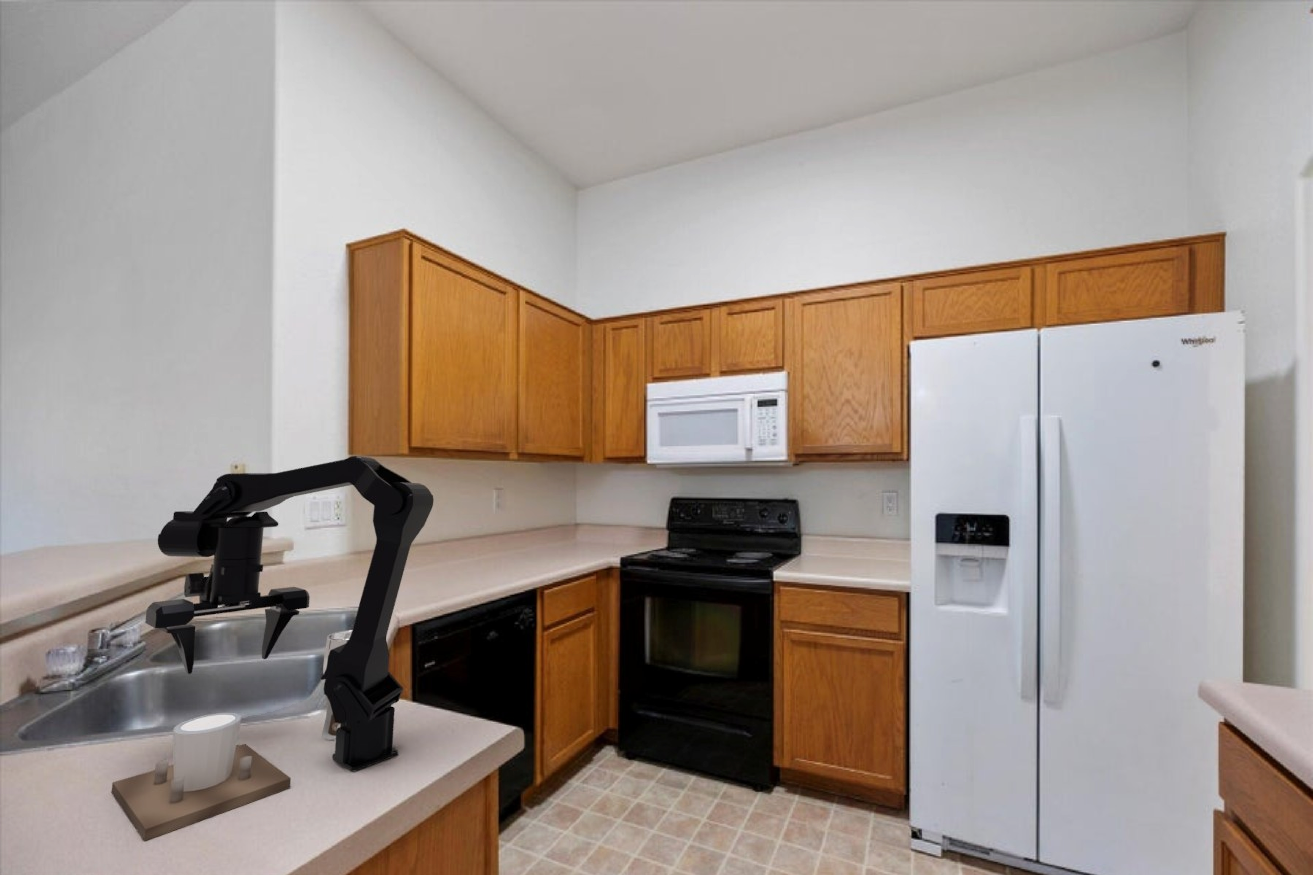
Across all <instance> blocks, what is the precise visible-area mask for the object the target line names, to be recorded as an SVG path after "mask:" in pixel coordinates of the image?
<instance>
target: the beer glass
mask: <svg viewBox="0 0 1313 875" xmlns="http://www.w3.org/2000/svg"><path fill="white" fill-rule="evenodd" d="M351 633H352V629H348V630H347V629H346V630H340V631H335V632H332V633H330V634H328V635H327V636H326V642H325V650H324V655H323V656H324V657H323V664H322V665H323V666H322V667H323V668H322V672H323V673H322V675H323V674H324V673H325V670H326V668H327V661H328V655H329V653H330V650H332V649H334V648H336V647H339V646H341V645H343V644H346V643H347V641H348V640H349V638H350V636H351ZM324 682H325V679H324V680H323V683H324ZM324 695H325V694H324ZM325 705H326V706H325V708H326V714H325V719H324V724H323V728H322V730H321V737H322V738H323V739H324V740H326V741H336V730H337V728H339V727H340V723H336V722H335V720H334V716H333V712H332V709H331V705H330V701H329V700H328V698H327V696H326V695H325Z"/></svg>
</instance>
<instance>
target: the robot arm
mask: <svg viewBox="0 0 1313 875" xmlns="http://www.w3.org/2000/svg"><path fill="white" fill-rule="evenodd" d="M348 486H349V487H350V486H353V487H354V488H355V489H356V490H357V492H358V493H359V495H361V497H362V498H364V499H365V500H366V501H368V502H369V503H370V504H371V505H373V514H372V523H373V528H374V533H375V537H376V541H375V544H374V549H373V551H372V552H373V553H372V556H371V560H370V565H369V568H368V571H367V575H366V578H365V581H364V582H365V583H364V586H363V589H362V593H361V597H360V601H359V605H358V608H357V612H356V615H355V619H354V622H353V626H352V629H351V630H352V633H351V636H350V638H349V640H348V641H347V643H346V644H343V645H341V646H339V647H336V648H334V649H332V650H330V653H329V655H328V661H327V668H326V670H325V673H324V674H323V673H322V676H321V677H320V680H322V681H323V695H326V696H327V698H328V700H329V701H330V705H331V709H332V712H333V716H334V720H335V722H336V723H340V727H339V728H337V730H336V740H335V746H334V748H335V749H334V753H333V754H332V760H334V761H336V763H337V762H338V763H339V764H341V765H342V766H344V767H346V768H347V769H349V771H351V772H352V771H353V772H354V771H358V770H361V769H364V768H366V767H368V766H371V765H373V764H376V763H379V762H382V761H384V760H388V759H390V758H392V757H395V756H398V755H399V750H398V749H396V748H395V747H394V746H393V742H394V729H395V728H394V727H395V726H394V725H395V710H396V708H395V707H394V706H393V705H394V704H396V703H398V702H399V700H400V699H401V696H402V694H403V691H404V688H403V686H402V685H401V684H400V683H399V681H397V679H396V678H395V676H393V675H392V674H391V672H389V667H390V666H389V665H390V656H391V655H390V650H389V646H388V642H387V635H388V631H389V627H390V624H391V620H392V617H393V613H394V609H395V605H396V603H397V602H396V601H397V597H398V593H399V590H400V586H401V582H402V579H403V575H404V572H405V568H406V564H407V560H408V557H409V553H410V551H411V550H410V549H411V546H412V543H413V542H414V541H415V539H416V538H417V536H418V535H419V534H420V532H421V531H422V529H423V528H424V526H425V525H426V523H427V521H428V518H429V516H430V513H431V511H432V509H433V506H434V502H435V501H434V495H433V494H432V492H431V491H430V489H429V488H428V487H427V486H426V485H424V484H422V483H419V482H418V483H417V482H412V481H410V480H409V479H408V478H405V477H404V476H402V475H400V474H398V473H397V472H395V471H393V470H391V469H389V468H388V467H386V466H385V465H383V464H382V463H380V462H379V461H377V460H376V459H375V458H372V457H369V456H359V455H352V456H349V457H347V458H345V459H339V460H334V461H330V462H323V463H320V464H314V465H310V466H304V467H299V468H295V469H289V470H285V471H278V472H276V473H275V472H273V473H272V472H271V473H269V472H267V473H266V472H264V473H262V472H260V473H259V472H254V473H251V472H249V473H248V472H245V473H244V472H243V473H242V472H241V473H240V472H239V473H224V474H222V475H220V476H219V477H218V478H216V481H215V483H214V484H213V486H212V488H211V490H210V491H209V492H208V493H207V494H206V496H205V497H204V498H203V500H202V501H201V502H200V503H199V505H197V507H196V508H195V509H194V510H193V511H191V510H189V511H188V510H187V511H186V510H183V511H182V510H181V511H178V510H177V511H174V512H173V516H172V519H171V520H169V521H168V522H166V524H165V525H163V528H162V529H161V531H160V533H158V536H157V545H158V549H159V550H160V552H161V553H162V554H163V555H165V556H168V557H178V558H179V557H181V558H182V557H183V558H184V557H189V558H191V557H192V558H210V557H212V556H213V563H212V564H211V565H210V569H209V574H208V575H207V576H205V574H204V573H203V572H196V573H195V572H194V573H188V574H186V575H185V579H184V585H183V586H184V587H183V590H184V594H183V595H184V597H186V598H190V597H191V598H193V597H199V598H198V599H199V601H198V602H197V603H194V602H193V601H190V600H188V599H185V598H180V599H171V600H170V599H169V600H162V601H153V602H151V604H150V605H149V606H148V607H147V609H146V612H145V621H144V623H145V624H146V625H149V626H150V627H151V628H154V629H159V630H161V631H163V632H164V633H166V634H171V636H172V638H173V640H174V642H175V644H176V647H177V650H178V653H179V655H180V658H181V661H182V664H183V667H184V671H185V673H186V674H187V675H190V674H193V669H194V664H195V648H196V647H195V646H196V645H195V642H196V641H195V640H196V626H195V625H193V623H191V621H192V620H193V619H194V618H195V617H203V616H211V615H218V614H227V613H235V612H241V611H249V610H257V609H264V613H265V628H264V633H263V637H262V638H263V639H262V646H261V659H263V660H267V659H268V658H269V656H270V654H271V652H272V651H273V649H274V647H275V645H276V644H277V642H278V640H279V638H280V636H281V634H282V633H283V631H284V630H285V628H287V627H286V626H288V624H289V622H290V621H291V619H292V618H293V617H294V616H298V615H300V610H303V609H307V608H309V607H310V597H311V596H310V594H309V591H308V590H306V589H303V588H299V587H297V586H289V587H288V586H287V587H280V588H279V587H278V588H273V589H272V588H270V590H269V592H268V593H267V595H261V592H260V591H259V585H260V577H261V576H260V575H261V573H262V572H263V570H264V564H262V563H261V561H262V551H263V539H264V529H265V528H276V527H278V526H279V522H278V521H277V520H276V519H274V518H273V517H272V516H271V515H270V514H269V512H268V511H265V510H267V509H270V508H273V507H275V506H278V505H280V504H282V503H284V502H285V501H286V500H288V499H290V498H293V497H298V496H302V495H303V496H304V495H308V494H312V493H317V492H323V491H329V490H333V489H338V488H344V487H348ZM252 513H253V514H252ZM250 514H251V516H250ZM218 606H219V607H218ZM324 679H325V682H324Z"/></svg>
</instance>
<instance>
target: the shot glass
mask: <svg viewBox="0 0 1313 875" xmlns="http://www.w3.org/2000/svg"><path fill="white" fill-rule="evenodd" d="M242 717H243V716H242V715H240V713H233V712H217V713H211V714H210V713H209V714H205V715H201V716H197V717H194V718H191V719H188V720H185V721H183V722H180V723H179V724H177V725H175V727H174V728H173V730H172V737H173V738H172V741H173V742H172V744H173V746H172V747H173V749H172V750H173V751H172V752H173V754H172V755H173V765H174V778H177V777H185V780H184V790H183V792H184V791H196V790H201V789H205V788H208V787H212V786H215V785H217V784H219V783H221V782H223V781H225V780H226V779H227V778H229V777H230V775H231V771H232V765H233V760H234V755H235V750H236V746H237V743H238V738H239V732H240V728H241V722H242Z"/></svg>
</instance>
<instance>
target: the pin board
mask: <svg viewBox="0 0 1313 875" xmlns="http://www.w3.org/2000/svg"><path fill="white" fill-rule="evenodd" d="M154 768H155V769H154V770H150V771H146V772H144V773H140V774H136V775H132V776H129V777H126V778H122V779H118V780H116V781H113V782H112V785H111V786H112V787H111V794H112V795H113V797H114V799H115V800H116V801H117V803H118V805H120V808H122V810H123V812H124V814H125V815H126V816H127V818H128V820H130V822H131V823H132V825H133V826H134V828H135V830H136V831H137V832H138V834H139V835H140V836H141V839H142V840H143V841H144V842H146V841H148V840H151V839H154V838H158V837H160V836H162V835H165V834H167V833H170V832H173V831H176V830H178V829H181V828H184V827H186V826H190V825H193V824H195V823H197V822H201V821H203V820H206V819H209V818H211V817H214V816H217V815H220V814H223V813H225V812H228V811H230V810H234V809H236V808H239V807H241V806H244V805H248V804H250V803H252V802H256V801H258V800H261V799H264V798H266V797H269V796H273V795H274V794H278V793H280V792H282V791H285V790H289V789H291V782H292V780H291V777H290V776H288V774H286V773H285V772H283V771H282V770H281V769H279V768H278V767H277V766H276V765H274V764H273V763H271V762H270V761H269V760H267V758H265V757H264V756H262V755H261V754H259V753H258V752H257V751H256V750H254V749H253V748H252V747H250V746H249V745H248V744H246V743H244V744H243V743H242V744H239V745H236V750H235V755H234V760H233V765H232V771H231V775H230V777H229V778H227V779H226V780H225V781H223V782H221V783H219V784H217V785H215V786H212V787H208V788H205V789H201V790H196V791H184V792H183V790H184V780H185V777H177V778H174V764H170V765H169V760H168V759H164V760H158V761H157V762H155V767H154Z"/></svg>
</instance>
